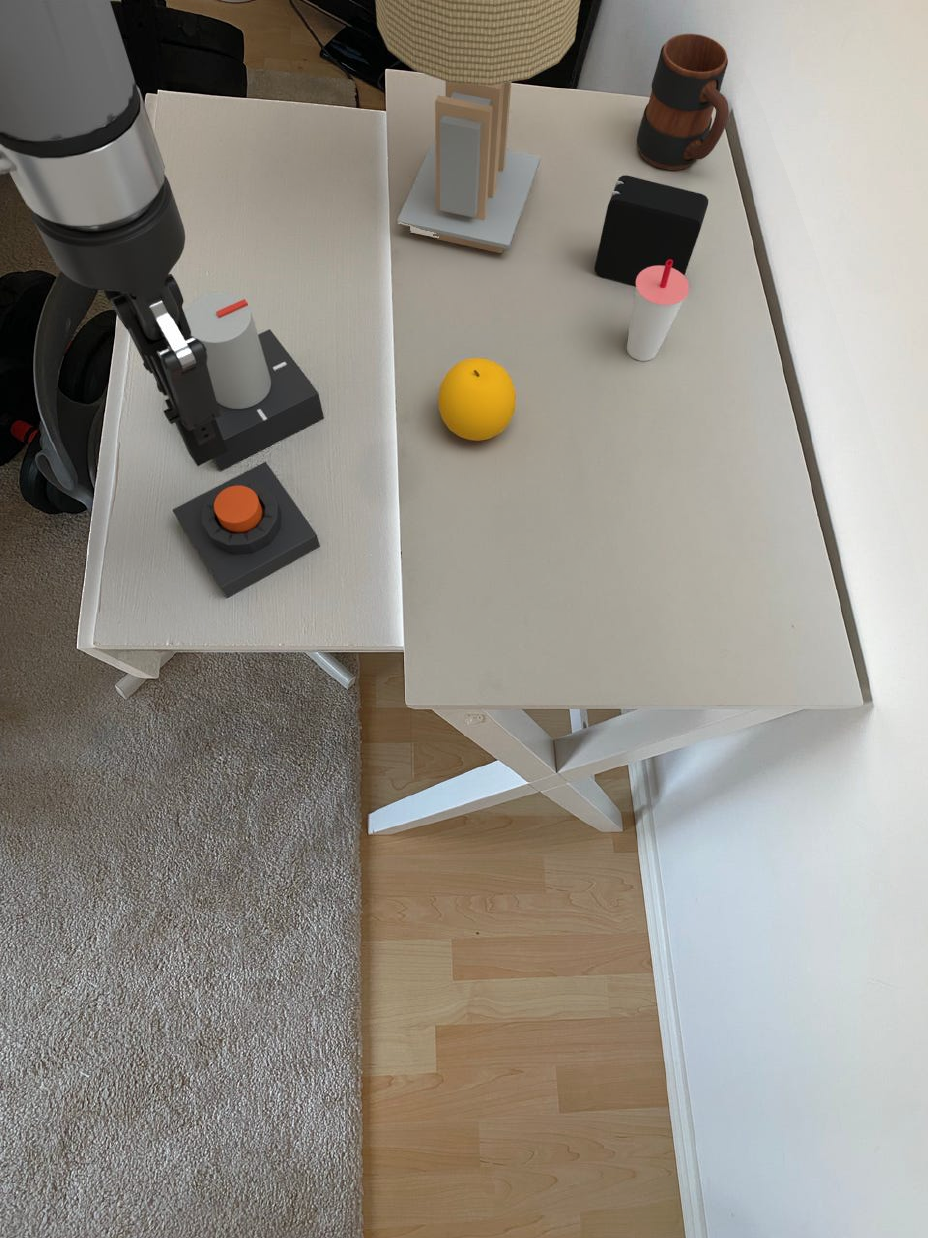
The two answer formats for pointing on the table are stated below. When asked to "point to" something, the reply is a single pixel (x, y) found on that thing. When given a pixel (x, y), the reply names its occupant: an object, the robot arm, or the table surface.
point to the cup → (654, 309)
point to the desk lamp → (475, 106)
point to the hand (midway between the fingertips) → (208, 452)
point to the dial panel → (269, 408)
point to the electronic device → (648, 228)
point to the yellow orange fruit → (477, 399)
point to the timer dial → (230, 348)
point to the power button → (238, 509)
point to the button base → (248, 532)
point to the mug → (684, 103)
